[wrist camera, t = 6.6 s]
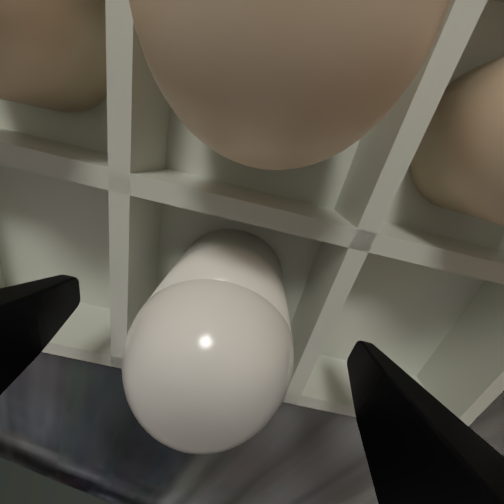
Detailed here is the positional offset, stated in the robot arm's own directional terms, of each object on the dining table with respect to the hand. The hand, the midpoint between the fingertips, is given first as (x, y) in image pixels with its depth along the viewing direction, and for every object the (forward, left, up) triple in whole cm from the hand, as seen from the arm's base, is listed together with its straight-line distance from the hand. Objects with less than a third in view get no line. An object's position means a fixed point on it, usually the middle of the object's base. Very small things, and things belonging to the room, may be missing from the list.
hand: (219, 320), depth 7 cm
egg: (0, 0, -3) cm, 3 cm away
